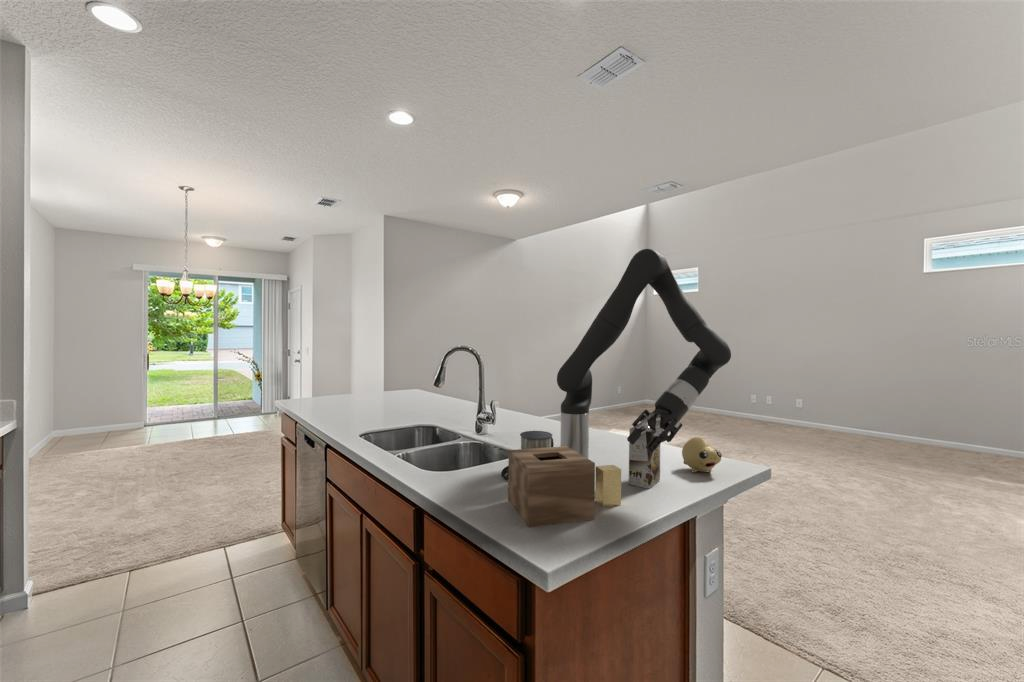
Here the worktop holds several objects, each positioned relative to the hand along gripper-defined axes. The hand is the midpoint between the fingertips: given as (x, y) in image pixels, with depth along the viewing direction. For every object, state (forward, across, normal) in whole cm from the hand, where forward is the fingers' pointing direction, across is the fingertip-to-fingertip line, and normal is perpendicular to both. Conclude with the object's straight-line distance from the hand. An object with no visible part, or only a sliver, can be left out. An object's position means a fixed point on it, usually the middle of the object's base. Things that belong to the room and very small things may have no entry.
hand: (638, 446), depth 112 cm
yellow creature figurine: (-13, -15, +33) cm, 38 cm away
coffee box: (+3, -11, +17) cm, 20 cm away
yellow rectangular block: (+16, 0, +4) cm, 16 cm away
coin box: (+27, 0, -8) cm, 28 cm away
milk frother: (+27, -20, -7) cm, 34 cm away
